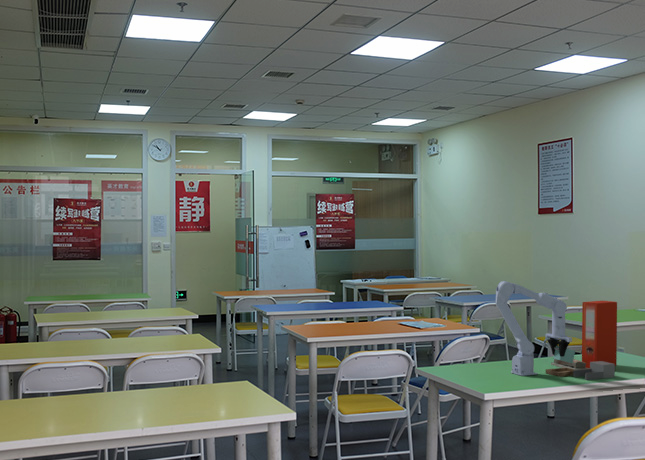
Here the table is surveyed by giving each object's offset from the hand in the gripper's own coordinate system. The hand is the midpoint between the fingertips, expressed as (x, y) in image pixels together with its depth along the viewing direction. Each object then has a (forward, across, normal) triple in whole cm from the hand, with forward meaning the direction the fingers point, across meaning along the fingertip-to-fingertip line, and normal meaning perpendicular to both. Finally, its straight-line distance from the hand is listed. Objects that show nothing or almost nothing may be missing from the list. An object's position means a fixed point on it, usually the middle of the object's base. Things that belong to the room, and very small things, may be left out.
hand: (558, 355), depth 296 cm
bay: (+9, -10, -12) cm, 18 cm away
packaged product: (+10, +12, -19) cm, 24 cm away
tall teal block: (+3, 0, -3) cm, 4 cm away
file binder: (+9, +8, -34) cm, 36 cm away
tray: (+9, +1, -4) cm, 10 cm away
